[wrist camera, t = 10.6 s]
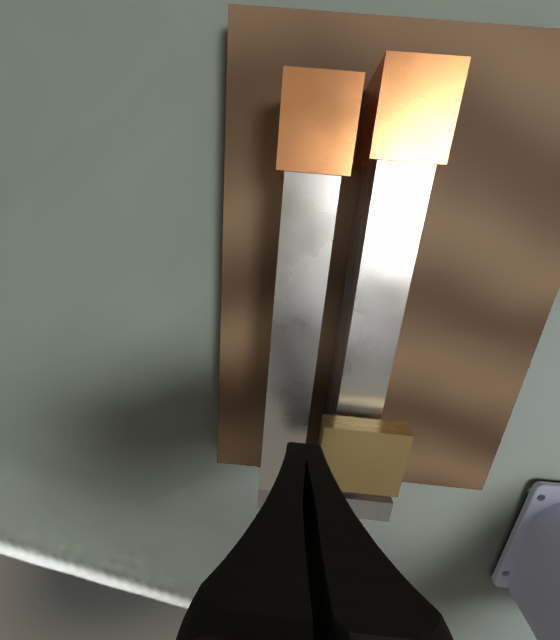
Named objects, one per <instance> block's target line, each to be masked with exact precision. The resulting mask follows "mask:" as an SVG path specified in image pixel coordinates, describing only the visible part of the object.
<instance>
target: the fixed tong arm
mask: <svg viewBox="0 0 560 640" xmlns="http://www.w3.org/2000/svg"><path fill="white" fill-rule="evenodd" d="M364 79H365V72H356V71H344V70H331V69H318V68H306V67H293V66H283V78H282V91H281V105H280V119H279V133H278V147H277V161H276V171H277V174H278V176H279V178H280V180H284V184H283V196H282V208H281V221H280V233H279V246H278V258H277V271H276V283H275V295H274V308H273V320H272V333H271V345H270V357H269V370H268V382H267V395H266V407H265V419H264V432H263V444H262V457H261V469H260V482H259V494H258V506H257V507H259V508H261V507H262V506H263V504H264V502H265V500H266V498H267V497H268V495H269V493H270V491H271V489H272V487H273V485H274V483H275V480H276V478H277V476H278V473H279V471H280V468H281V466H282V463H283V460H284V457H285V453H286V447H287V443H289V442H297V443H306V436H307V428H308V421H309V414H310V406H311V399H312V391H313V384H314V376H315V369H316V362H317V354H318V347H319V339H320V332H321V324H322V317H323V310H324V302H325V295H326V287H327V280H328V272H329V265H330V258H331V250H332V243H333V235H334V228H335V220H336V213H337V205H338V198H339V191H340V184H341V183H342V182H343V181H345V180H346V179H347V178H349V177H350V176H351V170H352V163H353V156H354V149H355V142H356V135H357V128H358V121H359V114H360V107H361V100H362V93H363V86H364ZM343 495H344V497H345V498H346V500H347V502H348V503H349V505H350V507H351V508H352V510H353V512H354V513H355V515H356V516H357V518H361V519H370V520H379V521H389V518H390V514H391V510H392V506H393V501H392V498H391V497H390V496H380V495H371V494H361V493H351V494H343Z"/></svg>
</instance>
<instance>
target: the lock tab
mask: <svg viewBox="0 0 560 640" xmlns="http://www.w3.org/2000/svg"><path fill="white" fill-rule="evenodd" d="M413 438H414V436H413V434H412V432H411V430H410V428H409V426H408V425H407V423H406V422H398V421H388V420H378V419H368V418H358V417H349V416H339V415H329V414H322V420H321V426H320V433H319V440H318V445H320V446H321V447H322V450H323V453H324V456H325V458H326V461H327V463H328V465H329V467H330V470H331V472H332V474H333V476H334V478H335V480H336V482H337V484H338V485H339V487H340V489H341V491H342V492H352V493H361V494H371V495H380V496H390V497H398V494H399V490H400V486H401V483H402V479H403V475H404V471H405V468H406V464H407V460H408V457H409V453H410V449H411V445H412V442H413Z"/></svg>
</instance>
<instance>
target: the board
mask: <svg viewBox="0 0 560 640" xmlns="http://www.w3.org/2000/svg"><path fill="white" fill-rule="evenodd" d="M386 51H400V52H414V53H428V54H441V55H455V56H469V57H471V60H470V64H469V68H468V73H467V77H466V82H465V86H464V90H463V95H462V99H461V104H460V108H459V112H458V117H457V121H456V126H455V130H454V134H453V139H452V143H451V148H450V152H449V156H448V161H447V165H444V166H441V167H438V168H435V173H434V178H433V182H432V187H431V191H430V196H429V201H428V205H427V210H426V214H425V219H424V223H423V228H422V233H421V237H420V242H419V246H418V251H417V256H416V260H415V265H414V269H413V274H412V278H411V283H410V288H409V292H408V297H407V301H406V306H405V311H404V315H403V320H402V324H401V329H400V333H399V338H398V343H397V347H396V352H395V356H394V361H393V366H392V370H391V375H390V379H389V384H388V388H387V393H386V398H385V402H384V407H383V411H382V416H381V420H388V421H398V422H406V423H407V425H408V426H409V428H410V430H411V432H412V434H413V436H414V438H413V442H412V445H411V449H410V453H409V457H408V460H407V464H406V468H405V471H404V475H403V479H402V482H409V483H419V484H428V485H438V486H447V487H457V488H466V489H476V490H482V489H483V487H484V484H485V481H486V479H487V476H488V473H489V471H490V468H491V465H492V463H493V460H494V458H495V455H496V452H497V450H498V447H499V444H500V442H501V439H502V436H503V434H504V431H505V428H506V426H507V423H508V421H509V418H510V415H511V413H512V410H513V407H514V405H515V402H516V399H517V397H518V394H519V392H520V389H521V386H522V384H523V381H524V378H525V376H526V373H527V370H528V368H529V365H530V363H531V360H532V357H533V355H534V352H535V349H536V347H537V344H538V341H539V339H540V336H541V334H542V331H543V328H544V326H545V323H546V320H547V318H548V315H549V312H550V310H551V307H552V304H553V302H554V299H555V297H556V294H557V291H558V289H559V286H560V29H557V28H544V27H531V26H517V25H504V24H491V23H477V22H464V21H451V20H438V19H424V18H411V17H398V16H384V15H371V14H358V13H344V12H331V11H318V10H305V9H291V8H278V7H265V6H251V5H238V4H228V38H227V80H226V121H225V162H224V204H223V245H222V287H221V328H220V370H219V411H218V452H217V462H219V463H228V464H238V465H247V466H257V467H261V457H262V444H263V432H264V419H265V407H266V395H267V382H268V370H269V357H270V345H271V333H272V320H273V308H274V295H275V283H276V271H277V258H278V246H279V233H280V221H281V208H282V196H283V184H284V180H280V178H279V176H278V174H277V171H276V161H277V147H278V133H279V119H280V105H281V91H282V78H283V66H293V67H306V68H318V69H331V70H344V71H356V72H365V79H364V86H363V93H362V100H361V107H360V114H359V121H358V128H357V135H356V142H355V149H354V156H353V163H352V170H351V176H350V177H349V178H347V179H346V180H345V181H343V182H342V183H341V184H340V191H339V198H338V205H337V213H336V220H335V228H334V235H333V243H332V250H331V258H330V265H329V272H328V280H327V287H326V295H325V302H324V310H323V317H322V324H321V332H320V339H319V347H318V354H317V362H316V369H315V376H314V384H313V391H312V399H311V406H310V414H309V421H308V428H307V436H306V444H316V445H318V440H319V437H318V432H319V429H320V426H321V420H322V414H325V409H326V402H327V395H328V389H329V382H330V375H331V369H332V362H333V355H334V348H335V342H336V335H337V328H338V322H339V315H340V308H341V301H342V295H343V288H344V281H345V275H346V268H347V261H348V254H349V248H350V241H351V234H352V227H353V221H354V214H355V207H356V201H357V194H358V187H359V180H360V174H361V171H354V167H355V160H356V153H357V145H358V138H359V131H360V124H361V117H362V110H363V103H364V96H365V89H366V87H367V85H368V83H369V82H370V80H371V78H372V76H373V74H374V72H375V70H376V69H377V67H378V65H379V63H380V61H381V59H382V57H383V56H384V54H385V52H386Z"/></svg>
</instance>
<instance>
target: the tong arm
mask: <svg viewBox="0 0 560 640" xmlns="http://www.w3.org/2000/svg"><path fill="white" fill-rule="evenodd" d="M470 60H471V57H469V56H455V55H441V54H428V53H414V52H400V51H386V52H385V54H384V56H383V57H382V59H381V61H380V63H379V65H378V67H377V69H376V70H375V72H374V74H373V76H372V78H371V80H370V82H369V83H368V85H367V87H366V89H365V96H364V103H363V110H362V117H361V124H360V131H359V138H358V145H357V153H356V160H355V167H354V171H361V174H360V180H359V187H358V194H357V201H356V207H355V214H354V221H353V227H352V234H351V241H350V248H349V254H348V261H347V268H346V275H345V281H344V288H343V295H342V301H341V308H340V315H339V322H338V328H337V335H336V342H335V348H334V355H333V362H332V369H331V375H330V382H329V389H328V395H327V402H326V409H325V414H329V415H339V416H349V417H358V418H368V419H378V420H381V416H382V411H383V407H384V402H385V398H386V393H387V388H388V384H389V379H390V375H391V370H392V366H393V361H394V356H395V352H396V347H397V343H398V338H399V333H400V329H401V324H402V320H403V315H404V311H405V306H406V301H407V297H408V292H409V288H410V283H411V278H412V274H413V269H414V265H415V260H416V256H417V251H418V246H419V242H420V237H421V233H422V228H423V223H424V219H425V214H426V210H427V205H428V201H429V196H430V191H431V187H432V182H433V178H434V173H435V168H438V167H441V166H444V165H447V161H448V156H449V152H450V148H451V143H452V139H453V134H454V130H455V126H456V121H457V117H458V112H459V108H460V104H461V99H462V95H463V90H464V86H465V82H466V77H467V73H468V68H469V64H470ZM319 433H320V429H319V432H318V437H319ZM342 493H343V494H351V493H352V492H342Z"/></svg>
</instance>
